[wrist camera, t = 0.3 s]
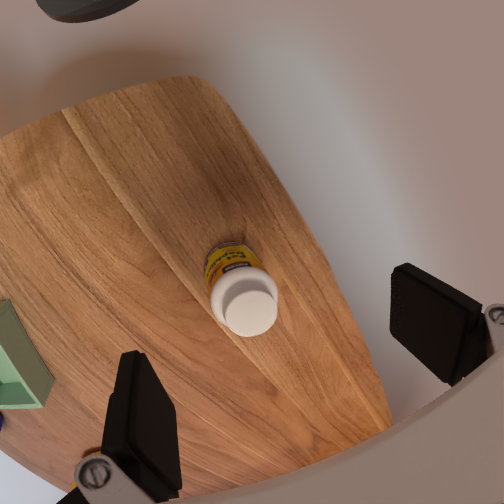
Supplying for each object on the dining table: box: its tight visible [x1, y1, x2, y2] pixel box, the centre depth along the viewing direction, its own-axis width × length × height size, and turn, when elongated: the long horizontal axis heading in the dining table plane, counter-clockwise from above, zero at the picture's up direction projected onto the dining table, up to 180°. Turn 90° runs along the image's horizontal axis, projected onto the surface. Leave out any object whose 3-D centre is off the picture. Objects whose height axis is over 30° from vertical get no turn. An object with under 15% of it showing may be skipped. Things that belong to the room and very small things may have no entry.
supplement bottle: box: [204, 242, 278, 337], centre depth 26 cm, size 6×6×10 cm
